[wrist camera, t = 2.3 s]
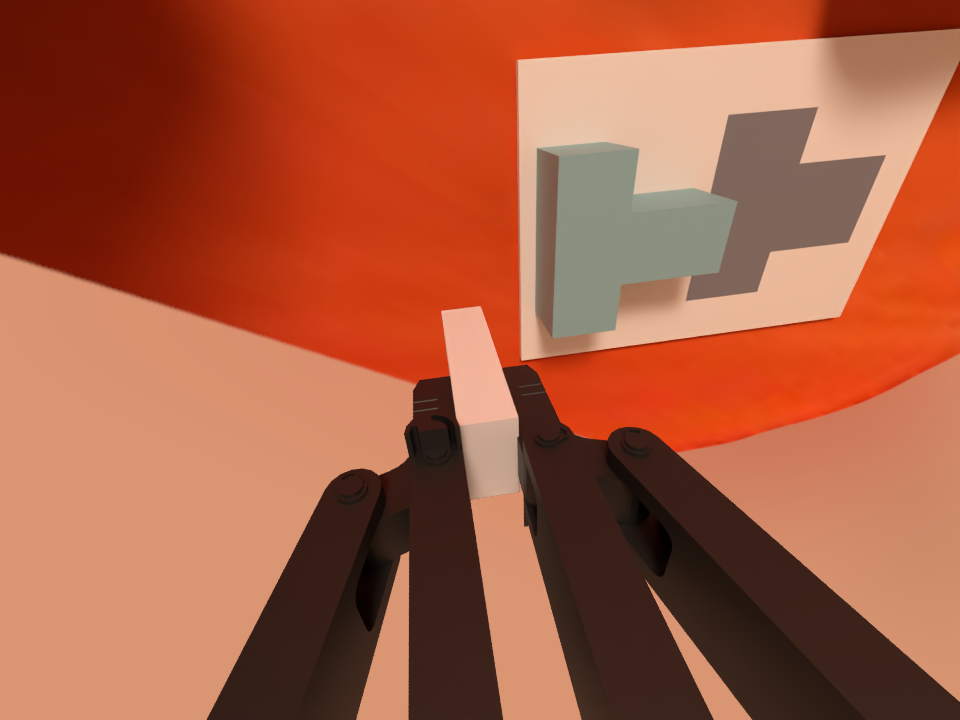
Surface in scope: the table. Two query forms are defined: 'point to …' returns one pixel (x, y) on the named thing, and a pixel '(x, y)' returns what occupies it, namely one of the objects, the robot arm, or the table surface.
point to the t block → (613, 234)
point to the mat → (740, 167)
